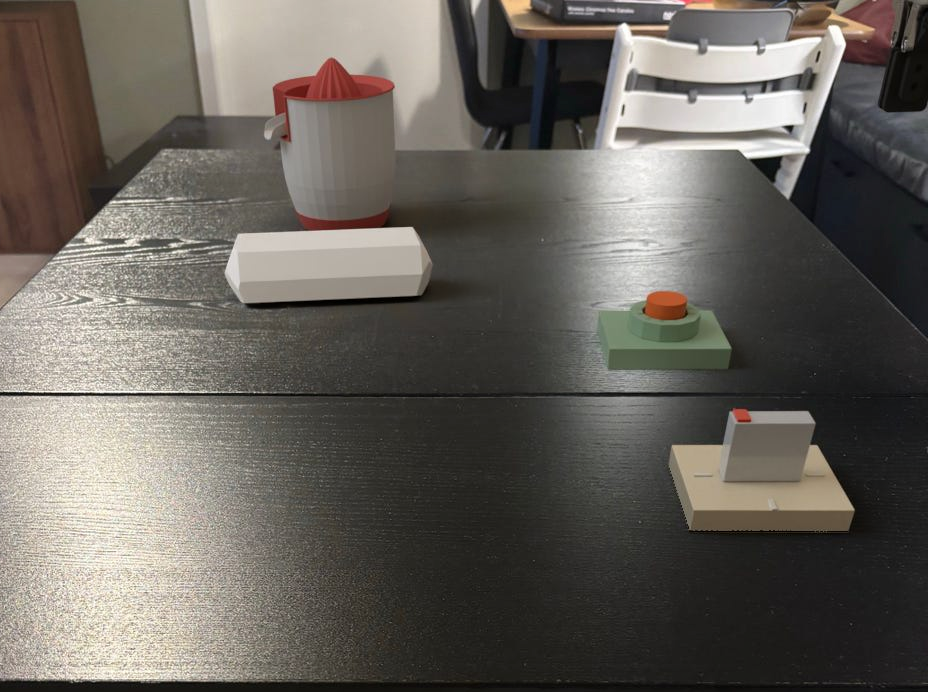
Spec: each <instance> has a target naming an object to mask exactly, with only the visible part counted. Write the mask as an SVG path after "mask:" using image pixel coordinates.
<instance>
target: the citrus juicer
mask: <svg viewBox="0 0 928 692" xmlns="http://www.w3.org/2000/svg"><path fill="white" fill-rule="evenodd" d="M395 88H396V86H395V82H393V81H391V80H390V79H387V78H384V77H379V76H375V75H364V74H350V73H349V72H348V71H347V69H346V68H345V67H344V66H343V65H342V64H341V63H340V61H338V59H336V58H334V57H329V58H327V59H326V60H325V62H324V63H323V64H322V65H321V66H320V68H319V69H318V71H317V72H316V74H315V75H309V76H308V75H307V76H301V77H295V78H291V79H286V80H282V81H279V82H278V83H275V84H274V85H273V86H272V95H273V104H274V105H273V106H274V114H275V116H274V117H272V118H270V119H268V120H267V121H266V123H265V125H264V131H263V137H264V139H265V140H267V141H270V140H275V139H276V138H279V145H280V146H279V147H280V154H281V163H282V168H283V174H284V179H285V183H286V187H287V189H288V194H289V197H290V199H291V201H292V204H293V207H294V211H295V214H296V215H297V217H298V220H299V221H300V223H301V225H302V227H303V228H304V229H306V231H321V230H347V229H372V228H382V227H383V226H384V225H385V224H386V223H387V219H388V216H389V213H390V210H391V207H392V198H393V194H394V190H395V189H394V188H395V180H396V162H397V161H396V159H397V158H396V156H397V155H396V137H395V136H396V135H395V134H396V133H395V112H394V111H395V110H394V89H395Z"/></svg>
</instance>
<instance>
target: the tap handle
mask: <svg viewBox="0 0 928 692" xmlns="http://www.w3.org/2000/svg"><path fill="white" fill-rule="evenodd" d="M726 422H727V423H726V428H725V433H724V437H723V441H722V442H723V443H722V445H723V447H722V452H721V457H720V462H719V467H718V470H719V472H720V474H721V477H722V479H723V481H724V482H730V481H800V480H801V476H802V473H803V469H804V465H805V461H806V458H807V454H808V450H809V447H810V445H811V443H812V439H813V435H814V432H815V428H816V425H817V423H816V421H815V420H814V417H813V416H812V415H811V413H810V411H808V410H773V411H772V410H771V411H770V410H767V411H766V410H765V411H763V410H762V411H761V410H760V411H758V410H757V411H756V410H754V411H753V410H752V411H751V410H750V411H748V410H747V409H746V408H735V409H734V408H733V409H732V411H731V410H730V411H729V412H728V418H727V421H726Z"/></svg>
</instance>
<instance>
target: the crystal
mask: <svg viewBox="0 0 928 692" xmlns="http://www.w3.org/2000/svg"><path fill="white" fill-rule="evenodd" d="M433 266H434V265H433V262H432V259H431V257H430V255H429V253H428V250H427V249H426V247H425V244H424V243H423V241H422V239H421V237H420V235H419V234H418V232H417V231H416V229H415V228H414V227H413V226H404V227H403V226H400V227H380V228H372V229H347V230H321V231H310V230H301V231H300V230H299V231H297V230H296V231H275V232H274V231H272V232H251V233H250V232H248V233H237V236H236V238H235V240H234V243H233V247H232V250H231V252H230V255H229V258H228V261H227V265H226V267H225V270H224V277H225V278H226V280H227V283H228V285H229V287H230V288H231V289H232V292H233V293H234V294H235V295H236V297H237V298H238V300H239V302H240V303H241V302H242V303H241V304H260V303H277V302H278V303H280V302H304V301H323V300H324V301H325V300H327V301H328V300H348V299H369V298H370V299H371V298H392V297H393V298H395V297H414V296H415V297H416V296H422V295H423V294H424V292H425V290H426V288H427V286H428V284H429V282H430V279H431V274H432V270H433Z"/></svg>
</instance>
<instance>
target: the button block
mask: <svg viewBox="0 0 928 692" xmlns="http://www.w3.org/2000/svg"><path fill="white" fill-rule="evenodd" d="M646 300H647V299H644V300H641V301H637V302H636V303H634V304H633V305H632V306H631V307H630V308H629V310H599V311H598V317H597V328H596V331H597V335H598V339H599V342H600V346H601V350H602V354H603V357H604V361H605V365H606V370H611V371H612V370H616V371H617V370H620V371H621V370H729V365H730V360H731V355H732V350H733V348H732V346H731V344H730V343H729V340H728V339H727V337H726V335H725V333H724V331H723V329H722V327H721V325H720V324H719V321H718V320H717V317H716V315H715V313H714V312H713V310H712V309H710V310H709V309H707V310H706V309H701V310H699V308H698V307H697V306H695V305H693V304H691V303H689V302H687V306H686V312H685V317H684V318H682V319H678V320H660V319H655V318H651V317H649V316H647V315H645V308H646Z"/></svg>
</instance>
